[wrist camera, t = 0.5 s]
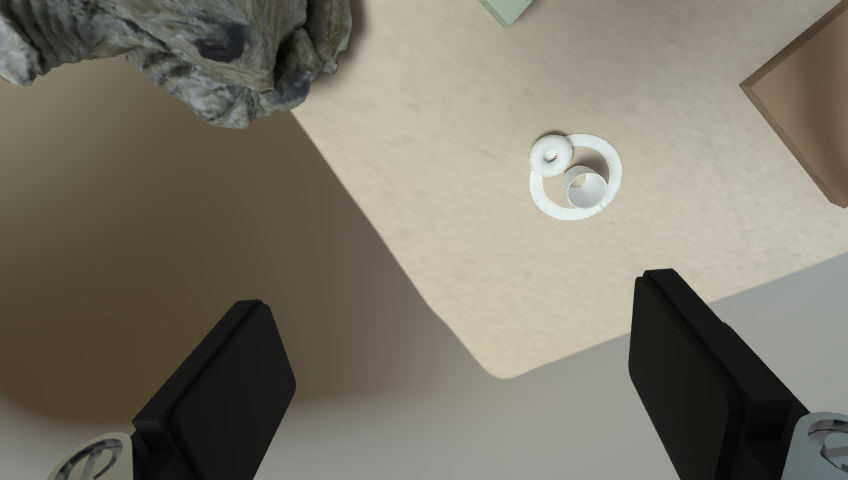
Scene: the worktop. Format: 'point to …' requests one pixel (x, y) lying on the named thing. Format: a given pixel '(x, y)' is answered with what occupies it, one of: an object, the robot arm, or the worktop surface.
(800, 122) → the walnut board
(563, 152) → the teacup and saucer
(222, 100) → the rock
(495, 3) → the sage block
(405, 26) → the worktop surface
